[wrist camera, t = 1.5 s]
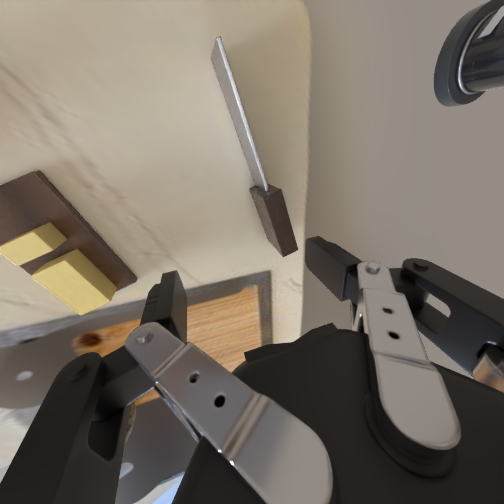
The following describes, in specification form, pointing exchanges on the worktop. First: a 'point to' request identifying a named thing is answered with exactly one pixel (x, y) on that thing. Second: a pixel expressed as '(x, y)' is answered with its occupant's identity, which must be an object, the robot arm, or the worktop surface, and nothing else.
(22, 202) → the butter board
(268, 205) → the knife
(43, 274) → the butter stick
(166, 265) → the worktop surface
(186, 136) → the worktop surface
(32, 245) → the butter pat
